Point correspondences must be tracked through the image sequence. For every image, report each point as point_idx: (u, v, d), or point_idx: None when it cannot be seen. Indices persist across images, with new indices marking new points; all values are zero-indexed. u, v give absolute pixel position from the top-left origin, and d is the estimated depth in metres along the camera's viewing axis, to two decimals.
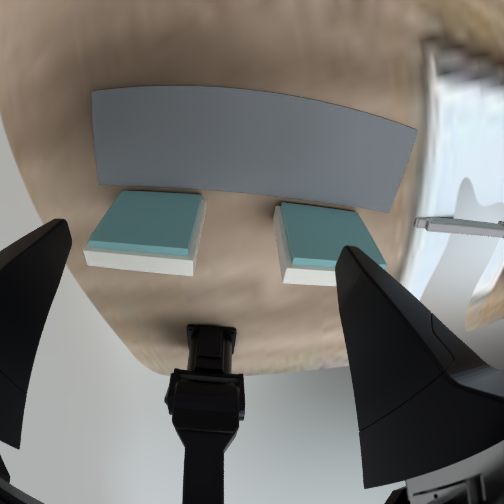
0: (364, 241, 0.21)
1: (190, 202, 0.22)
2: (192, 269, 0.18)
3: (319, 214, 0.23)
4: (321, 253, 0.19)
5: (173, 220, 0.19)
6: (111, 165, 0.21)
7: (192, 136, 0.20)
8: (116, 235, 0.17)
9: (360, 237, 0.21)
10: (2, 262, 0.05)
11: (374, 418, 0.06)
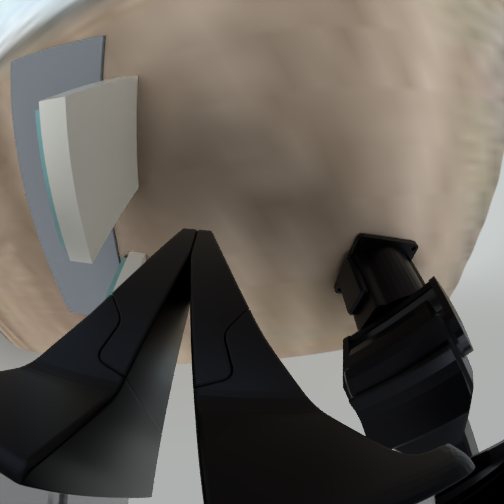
0: None
1: None
2: None
3: None
4: None
5: None
6: None
7: None
8: None
9: None
10: (156, 286, 0.05)
11: None
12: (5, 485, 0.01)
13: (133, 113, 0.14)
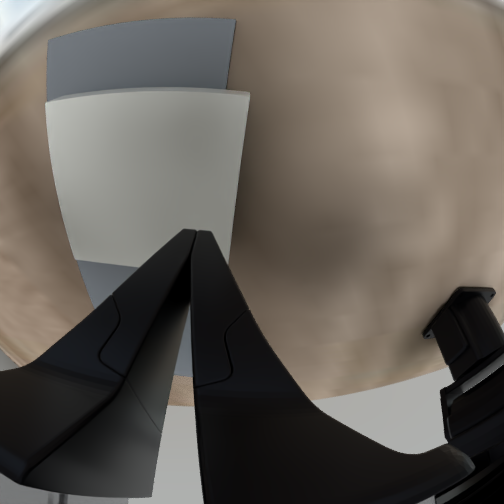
0: None
1: None
2: None
3: None
4: None
5: None
6: (185, 369, 0.23)
7: None
8: None
9: None
10: (156, 286, 0.05)
11: None
12: (5, 485, 0.01)
13: (224, 162, 0.09)
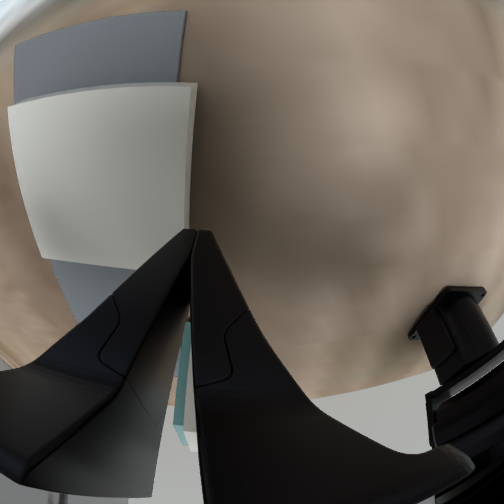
0: None
1: None
2: None
3: None
4: None
5: None
6: None
7: None
8: None
9: None
10: (156, 286, 0.05)
11: None
12: (5, 485, 0.01)
13: (169, 156, 0.09)
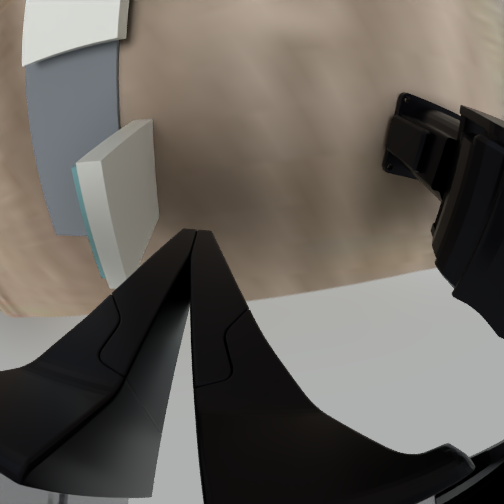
0: None
1: None
2: (90, 162, 0.10)
3: None
4: None
5: None
6: None
7: (69, 145, 0.16)
8: None
9: None
10: (156, 286, 0.05)
11: None
12: (5, 485, 0.01)
13: None
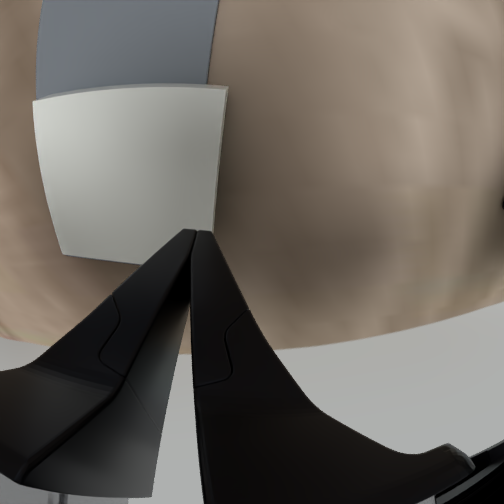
0: None
1: None
2: (41, 99, 0.07)
3: None
4: None
5: None
6: None
7: None
8: None
9: None
10: (156, 286, 0.05)
11: None
12: (5, 485, 0.01)
13: None
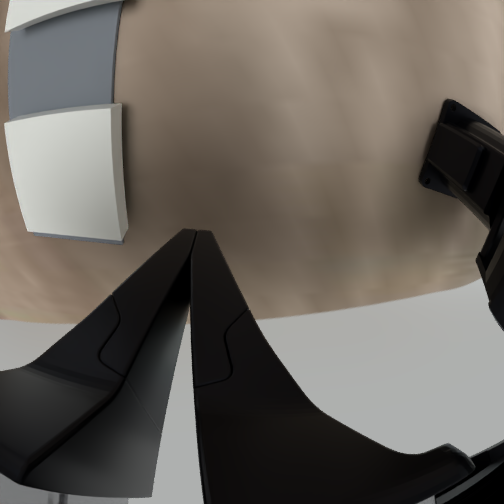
0: None
1: None
2: (10, 120, 0.10)
3: None
4: None
5: None
6: None
7: None
8: None
9: None
10: (156, 286, 0.05)
11: None
12: (5, 485, 0.01)
13: None
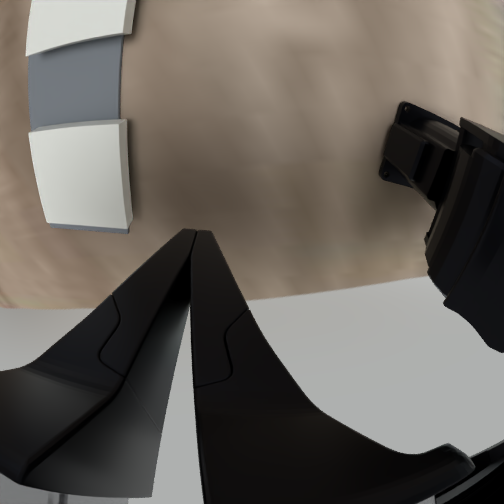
0: None
1: None
2: (33, 130, 0.14)
3: None
4: None
5: None
6: None
7: None
8: None
9: None
10: (156, 286, 0.05)
11: None
12: (5, 485, 0.01)
13: None
